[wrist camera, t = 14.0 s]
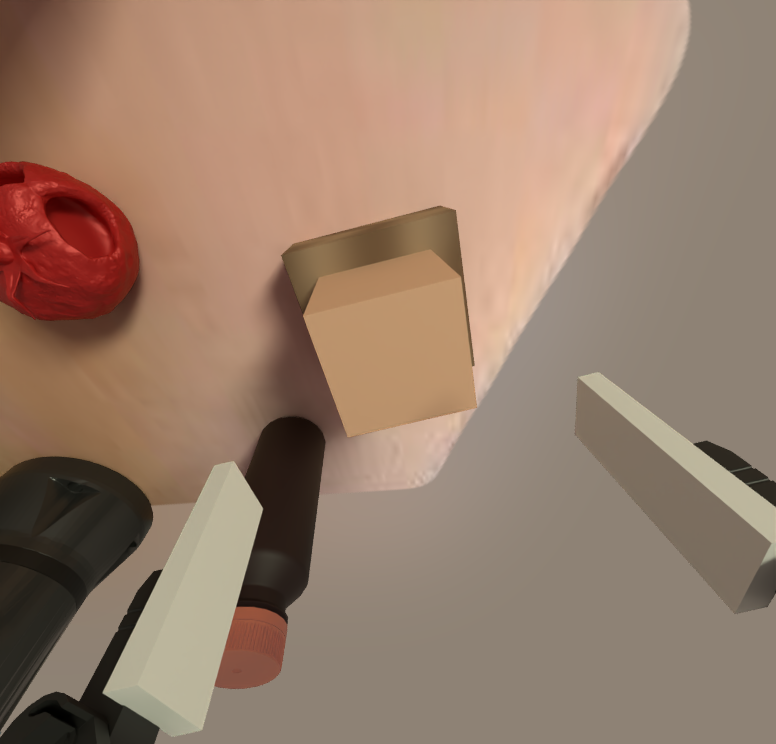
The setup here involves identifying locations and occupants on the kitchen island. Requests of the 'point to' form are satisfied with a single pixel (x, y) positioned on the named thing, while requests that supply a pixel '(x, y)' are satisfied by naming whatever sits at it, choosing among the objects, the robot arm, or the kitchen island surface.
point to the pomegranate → (61, 245)
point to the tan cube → (393, 342)
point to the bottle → (275, 550)
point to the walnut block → (376, 249)
